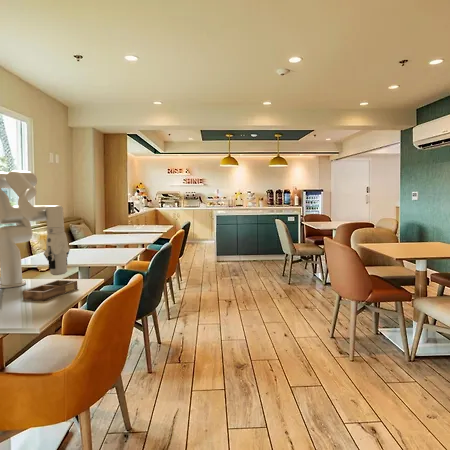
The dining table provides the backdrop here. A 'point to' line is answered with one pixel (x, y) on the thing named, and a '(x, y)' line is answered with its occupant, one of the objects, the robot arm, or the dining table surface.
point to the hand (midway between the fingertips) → (58, 266)
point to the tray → (49, 290)
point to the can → (59, 264)
